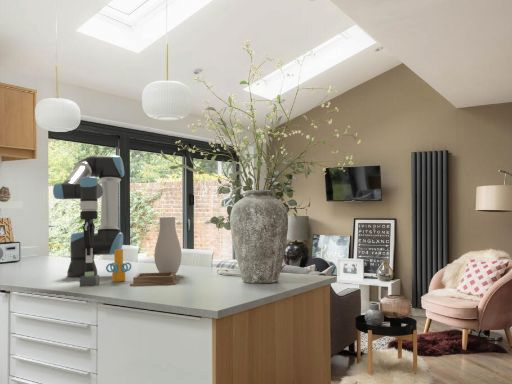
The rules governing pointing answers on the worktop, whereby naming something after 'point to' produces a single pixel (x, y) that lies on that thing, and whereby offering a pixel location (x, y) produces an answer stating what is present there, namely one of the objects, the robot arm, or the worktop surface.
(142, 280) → the brown wooden tray
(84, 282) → the switch box
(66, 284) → the worktop surface
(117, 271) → the orange block with rings
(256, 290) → the worktop surface
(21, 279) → the worktop surface
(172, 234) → the vase
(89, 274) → the button
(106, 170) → the robot arm
